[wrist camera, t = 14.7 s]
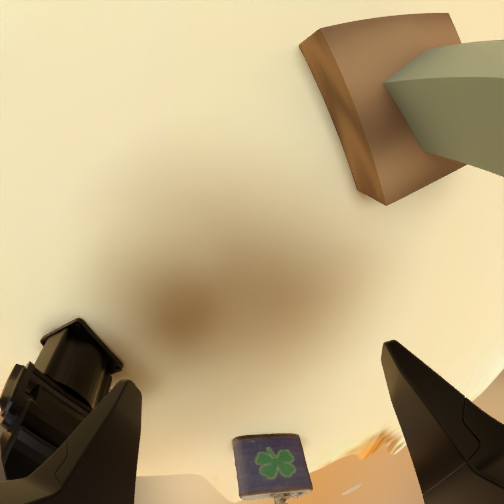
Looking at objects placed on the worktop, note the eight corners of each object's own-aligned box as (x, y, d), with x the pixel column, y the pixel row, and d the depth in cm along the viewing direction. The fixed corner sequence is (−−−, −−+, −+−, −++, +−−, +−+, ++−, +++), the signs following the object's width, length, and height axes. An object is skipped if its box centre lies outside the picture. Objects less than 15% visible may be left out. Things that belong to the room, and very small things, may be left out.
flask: (230, 443, 32) (239, 513, 23) (234, 433, 31) (245, 508, 21) (295, 441, 34) (313, 504, 25) (302, 431, 33) (323, 498, 23)
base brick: (298, 45, 15) (319, 28, 11) (416, 22, 14) (448, 13, 11) (357, 189, 20) (386, 205, 16) (456, 144, 19) (489, 152, 15)
